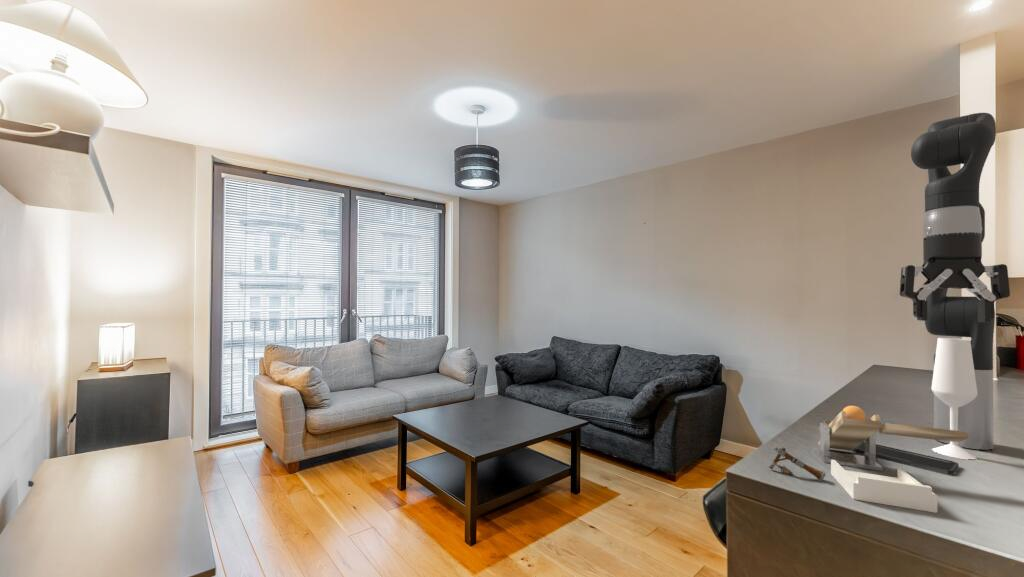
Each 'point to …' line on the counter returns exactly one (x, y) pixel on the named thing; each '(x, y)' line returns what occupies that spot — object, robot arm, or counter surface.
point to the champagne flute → (954, 385)
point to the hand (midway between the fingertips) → (952, 321)
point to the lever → (880, 431)
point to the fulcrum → (848, 459)
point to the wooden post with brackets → (815, 472)
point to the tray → (886, 489)
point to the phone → (912, 459)
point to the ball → (854, 412)
